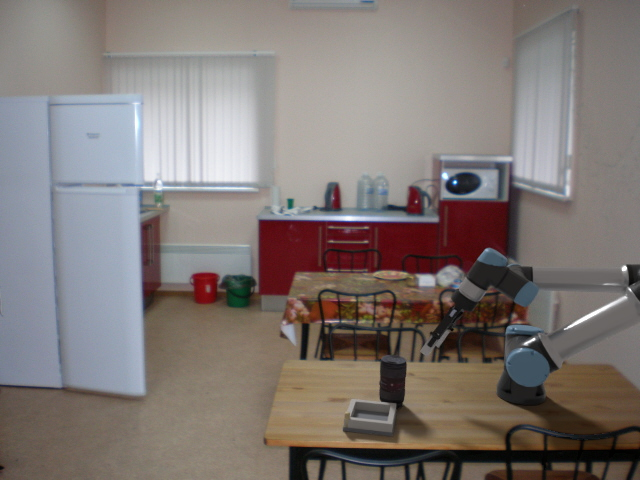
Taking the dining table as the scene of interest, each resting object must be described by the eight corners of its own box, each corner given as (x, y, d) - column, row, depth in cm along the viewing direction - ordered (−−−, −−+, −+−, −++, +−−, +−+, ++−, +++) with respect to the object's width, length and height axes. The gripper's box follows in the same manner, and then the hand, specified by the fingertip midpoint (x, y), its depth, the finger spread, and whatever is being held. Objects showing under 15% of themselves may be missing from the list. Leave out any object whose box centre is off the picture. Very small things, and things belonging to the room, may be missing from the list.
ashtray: (396, 414, 179) (397, 398, 178) (392, 436, 166) (393, 419, 165) (350, 409, 182) (351, 393, 181) (342, 430, 168) (343, 414, 168)
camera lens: (404, 412, 181) (406, 364, 178) (377, 409, 182) (379, 362, 180) (405, 400, 188) (407, 355, 186) (380, 398, 190) (381, 353, 188)
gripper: (466, 282, 192) (430, 334, 198) (448, 292, 170) (408, 350, 176) (486, 296, 190) (448, 348, 196) (470, 308, 167) (428, 366, 173)
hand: (429, 349), depth 186 cm, fingers open, 13 cm apart
